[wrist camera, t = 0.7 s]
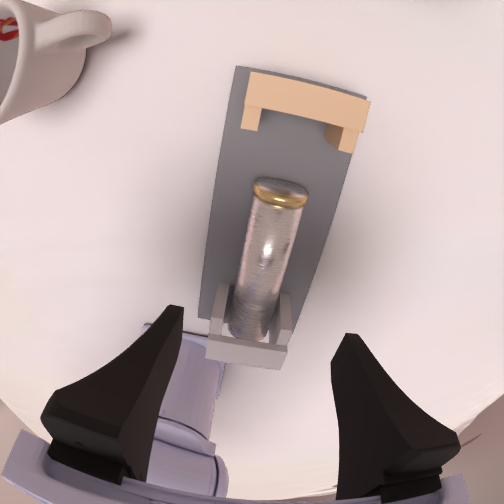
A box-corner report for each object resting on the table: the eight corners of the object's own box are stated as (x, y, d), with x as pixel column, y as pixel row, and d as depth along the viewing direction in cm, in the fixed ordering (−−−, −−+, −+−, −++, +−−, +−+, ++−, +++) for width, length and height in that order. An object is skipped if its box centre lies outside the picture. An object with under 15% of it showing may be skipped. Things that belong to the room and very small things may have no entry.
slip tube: (268, 317, 24) (268, 346, 22) (228, 310, 24) (224, 338, 21) (305, 184, 19) (312, 202, 16) (255, 174, 19) (253, 190, 16)
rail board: (292, 328, 26) (295, 376, 21) (198, 312, 25) (186, 359, 21) (363, 96, 17) (395, 100, 12) (236, 66, 16) (226, 57, 12)
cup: (137, -17, 13) (74, -55, 6) (142, 87, 17) (74, 93, 10) (19, 34, 14) (-54, 36, 7) (25, 122, 18) (-48, 149, 11)
